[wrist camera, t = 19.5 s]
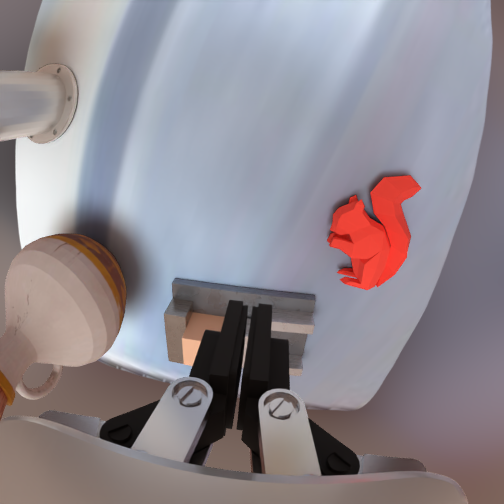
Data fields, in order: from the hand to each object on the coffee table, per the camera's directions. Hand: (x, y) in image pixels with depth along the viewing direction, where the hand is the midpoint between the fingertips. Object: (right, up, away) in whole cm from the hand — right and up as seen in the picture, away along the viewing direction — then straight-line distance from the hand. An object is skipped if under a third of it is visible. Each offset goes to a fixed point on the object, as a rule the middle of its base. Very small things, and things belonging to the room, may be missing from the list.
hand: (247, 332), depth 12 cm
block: (-6, -8, +32) cm, 34 cm away
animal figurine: (+16, +7, +26) cm, 31 cm away
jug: (-24, 0, +32) cm, 40 cm away
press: (-2, -8, +33) cm, 34 cm away
